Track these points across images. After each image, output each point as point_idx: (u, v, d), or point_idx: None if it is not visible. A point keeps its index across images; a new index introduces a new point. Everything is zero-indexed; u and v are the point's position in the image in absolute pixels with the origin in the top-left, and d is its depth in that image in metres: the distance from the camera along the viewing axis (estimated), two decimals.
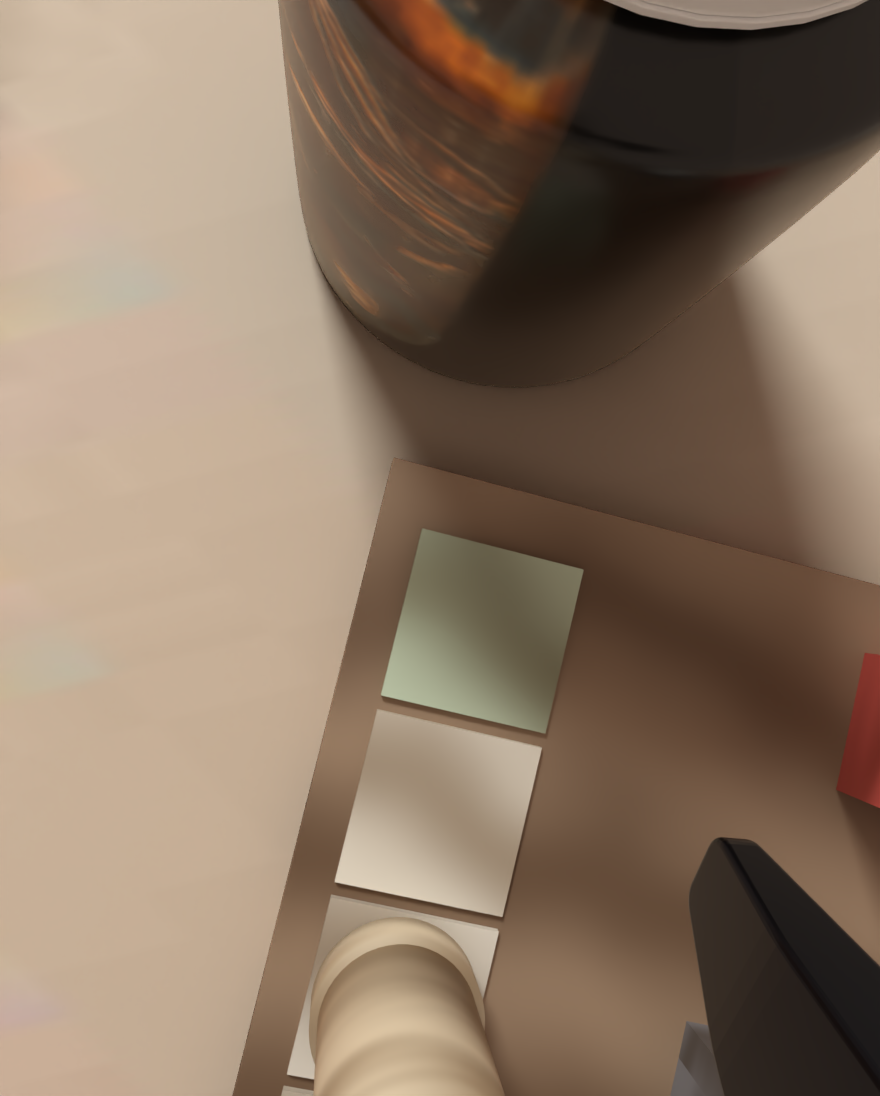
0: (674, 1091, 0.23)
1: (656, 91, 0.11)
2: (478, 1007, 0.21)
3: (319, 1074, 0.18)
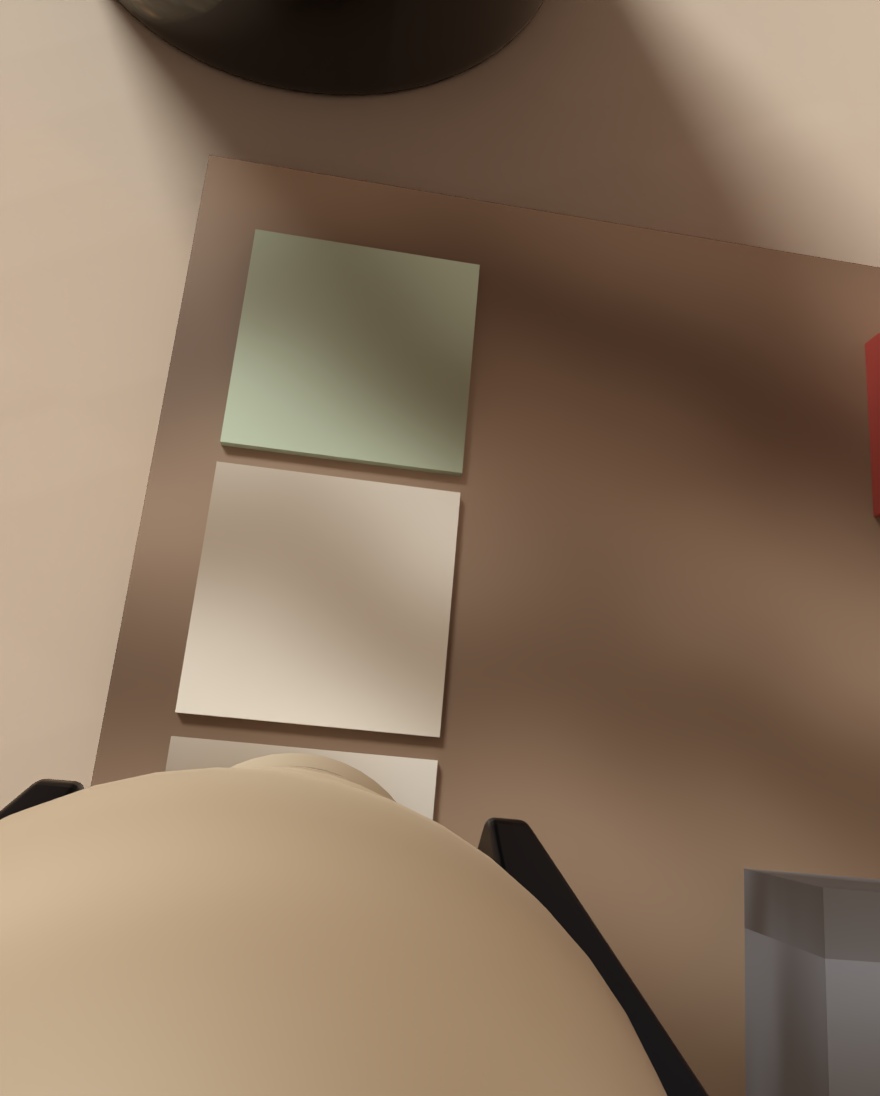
0: (749, 980, 0.15)
1: None
2: None
3: None
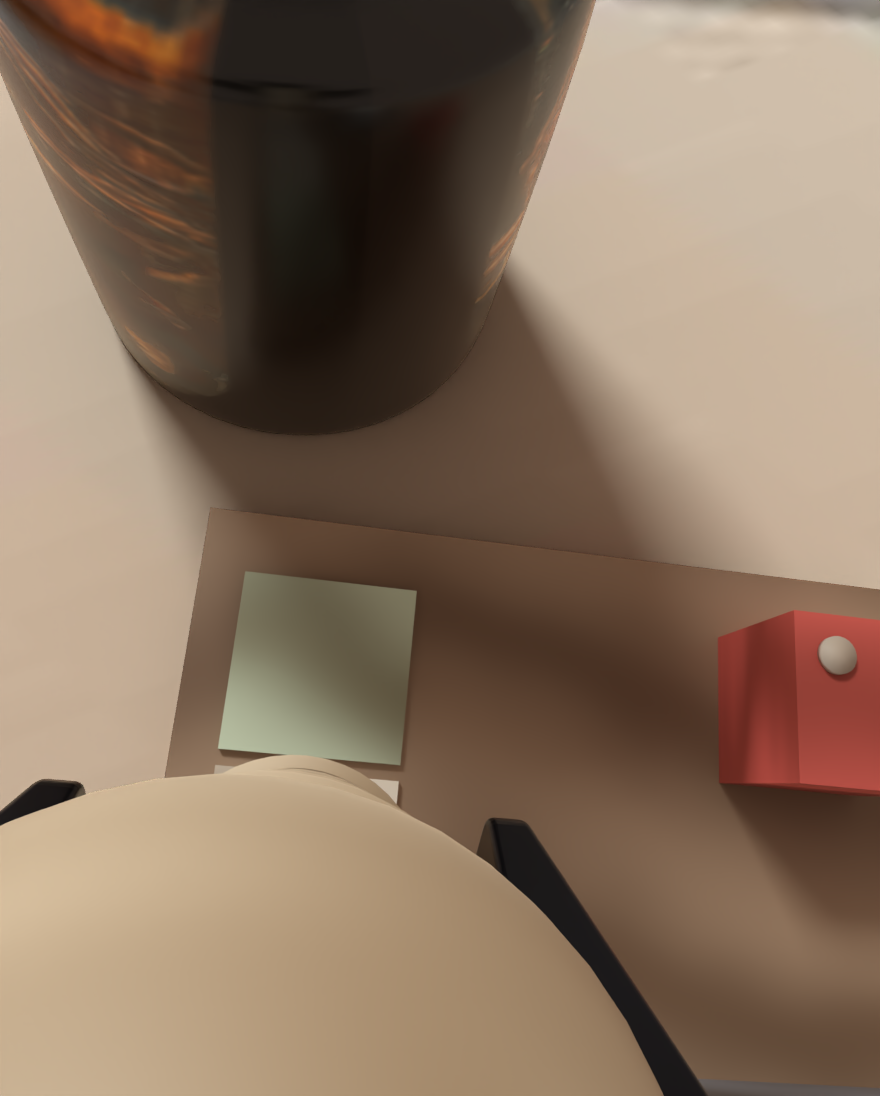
0: None
1: (285, 33, 0.13)
2: None
3: None
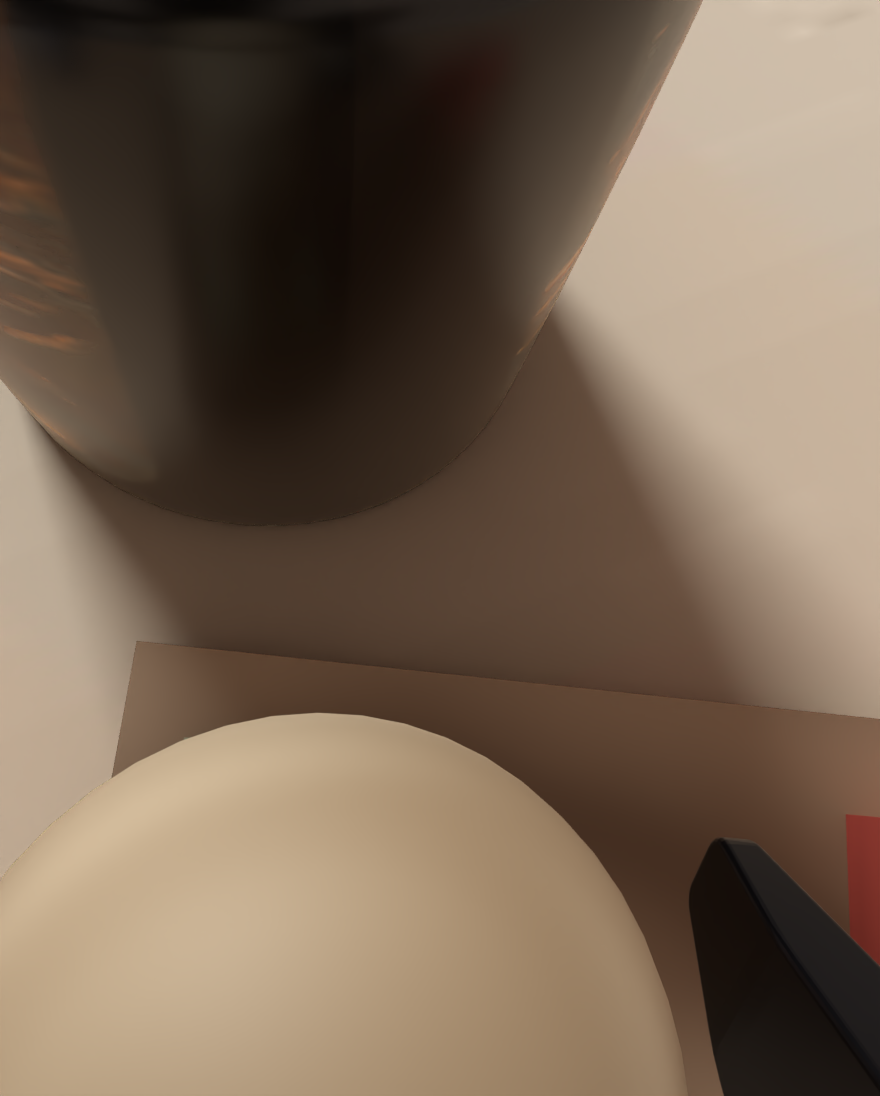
0: None
1: None
2: None
3: None
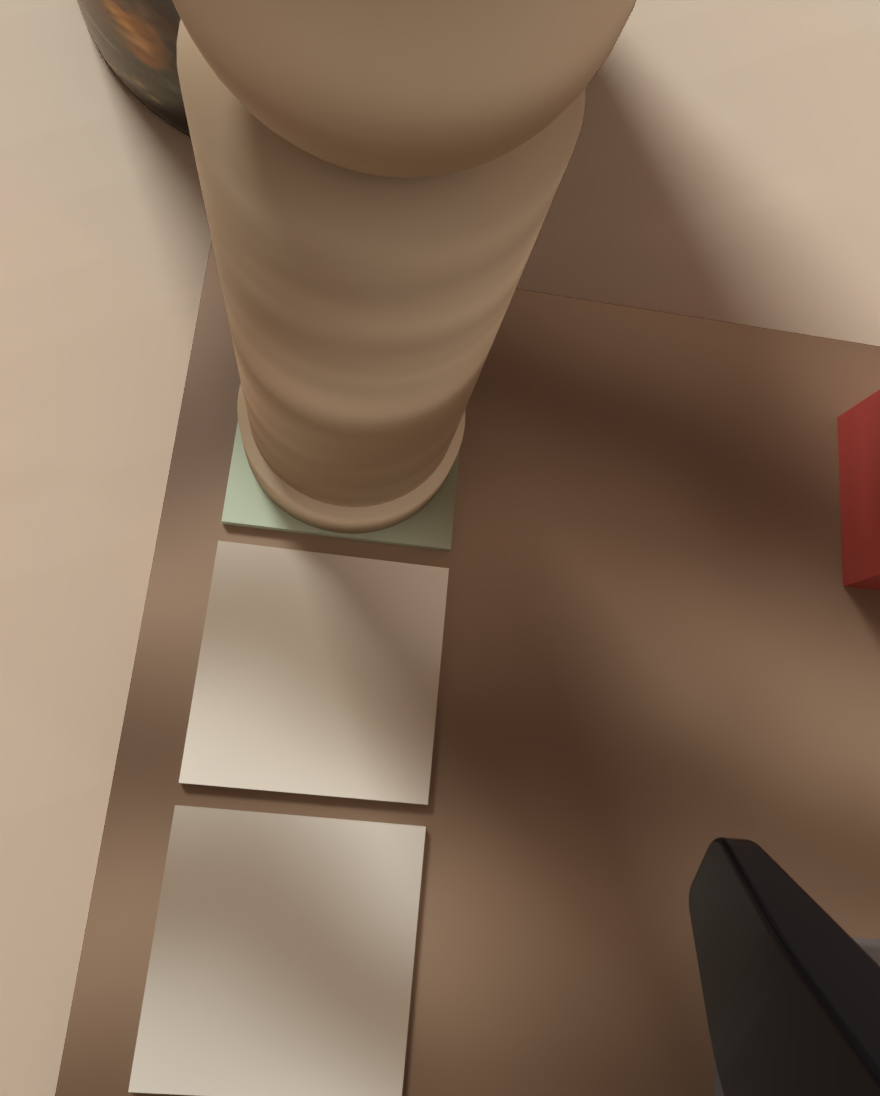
0: None
1: None
2: None
3: None
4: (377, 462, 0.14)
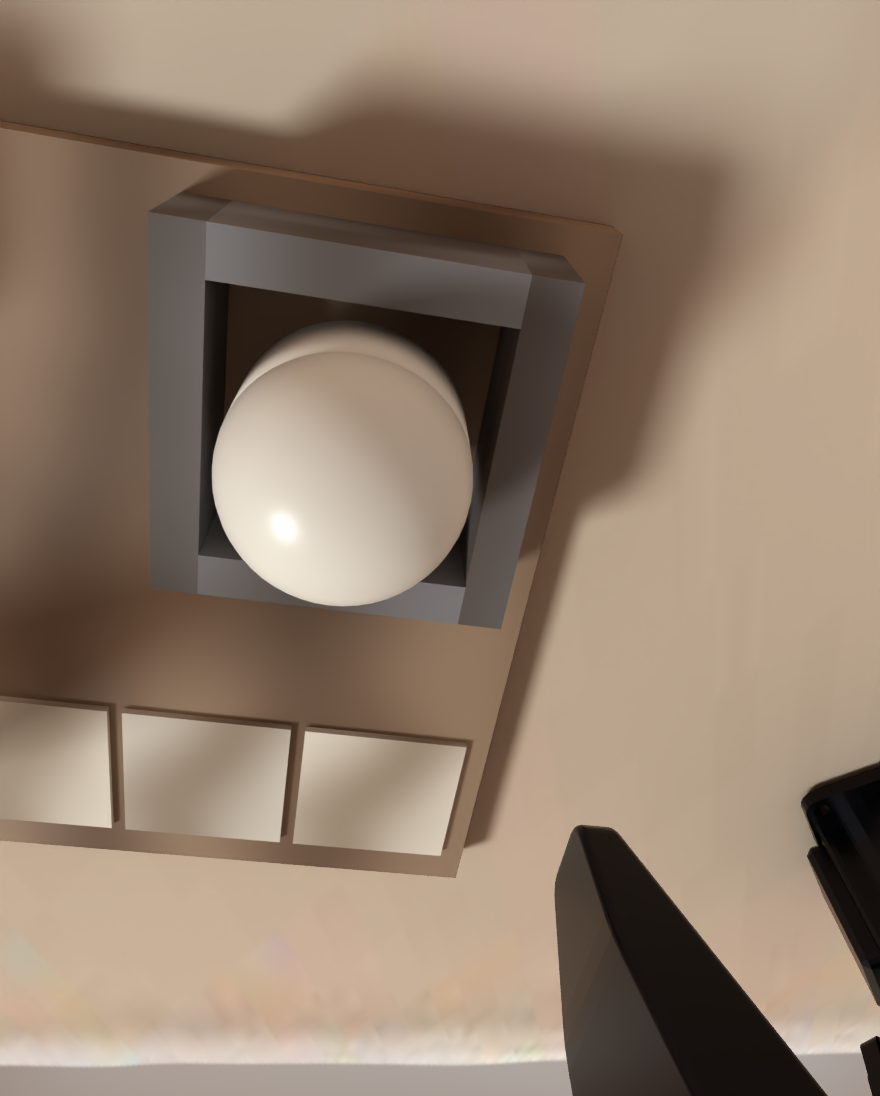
0: None
1: None
2: None
3: None
4: None
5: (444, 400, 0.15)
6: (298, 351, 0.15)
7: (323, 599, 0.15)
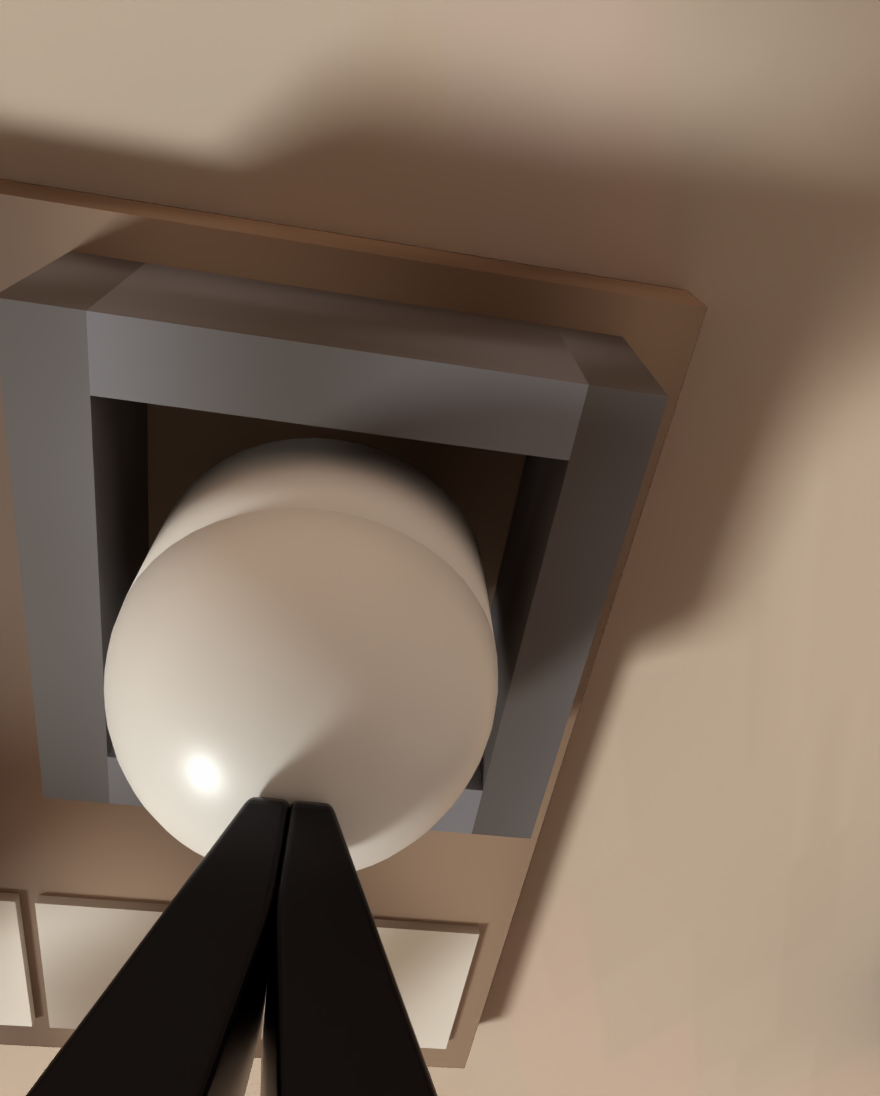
0: None
1: None
2: None
3: None
4: None
5: (455, 574, 0.10)
6: (234, 501, 0.10)
7: None
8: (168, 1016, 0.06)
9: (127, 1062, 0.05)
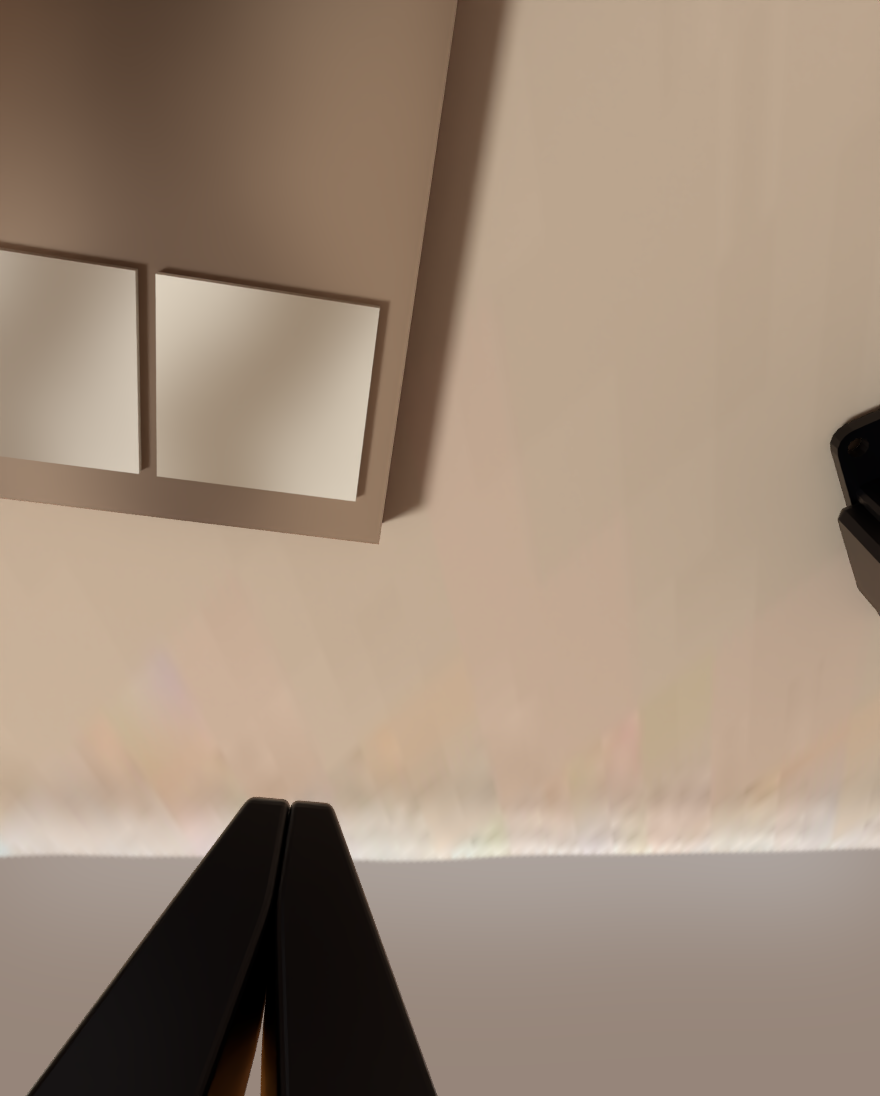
0: None
1: None
2: None
3: None
4: None
5: None
6: None
7: None
8: (168, 1016, 0.06)
9: (127, 1062, 0.05)
